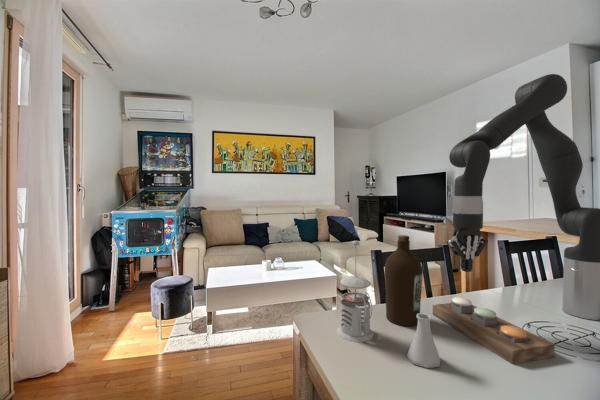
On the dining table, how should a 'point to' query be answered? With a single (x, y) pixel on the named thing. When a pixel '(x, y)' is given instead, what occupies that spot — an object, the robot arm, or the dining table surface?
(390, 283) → the olive oil
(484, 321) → the button sage
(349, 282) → the french press
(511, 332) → the button orange
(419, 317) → the flask
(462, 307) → the button cream
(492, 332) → the console
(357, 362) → the dining table surface
